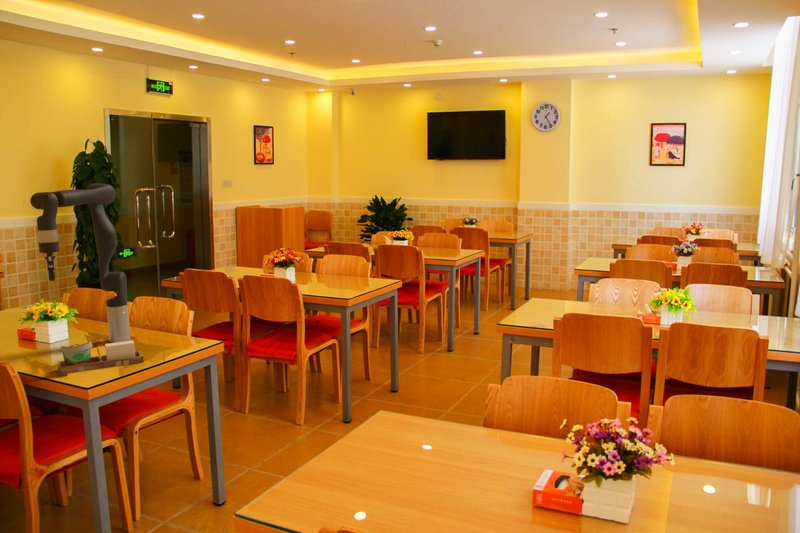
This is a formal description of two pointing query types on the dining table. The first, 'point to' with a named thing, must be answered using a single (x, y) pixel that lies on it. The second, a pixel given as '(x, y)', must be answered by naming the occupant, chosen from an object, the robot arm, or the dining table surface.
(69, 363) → the food container
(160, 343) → the dining table surface
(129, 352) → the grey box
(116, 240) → the robot arm
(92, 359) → the rack
